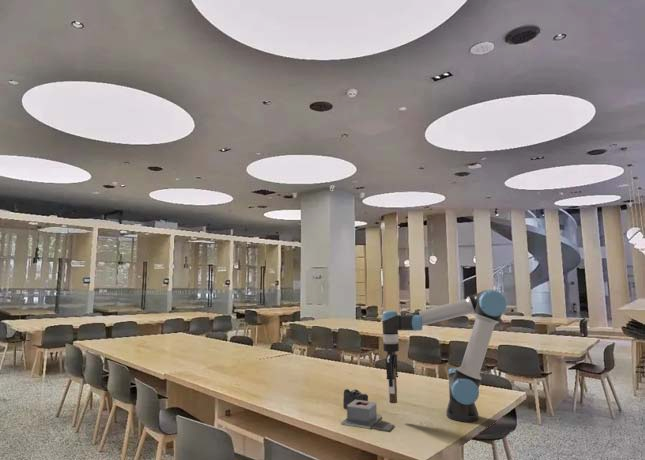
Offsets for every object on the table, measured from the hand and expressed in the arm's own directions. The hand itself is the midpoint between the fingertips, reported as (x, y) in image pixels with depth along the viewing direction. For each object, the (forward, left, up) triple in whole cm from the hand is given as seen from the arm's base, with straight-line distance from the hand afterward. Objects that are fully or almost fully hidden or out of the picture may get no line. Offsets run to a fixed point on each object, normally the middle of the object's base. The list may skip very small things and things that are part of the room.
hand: (393, 392), depth 196 cm
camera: (+22, -10, -13) cm, 27 cm away
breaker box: (+14, +7, -13) cm, 20 cm away
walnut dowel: (0, 0, -5) cm, 5 cm away
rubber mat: (+2, +12, -13) cm, 18 cm away
